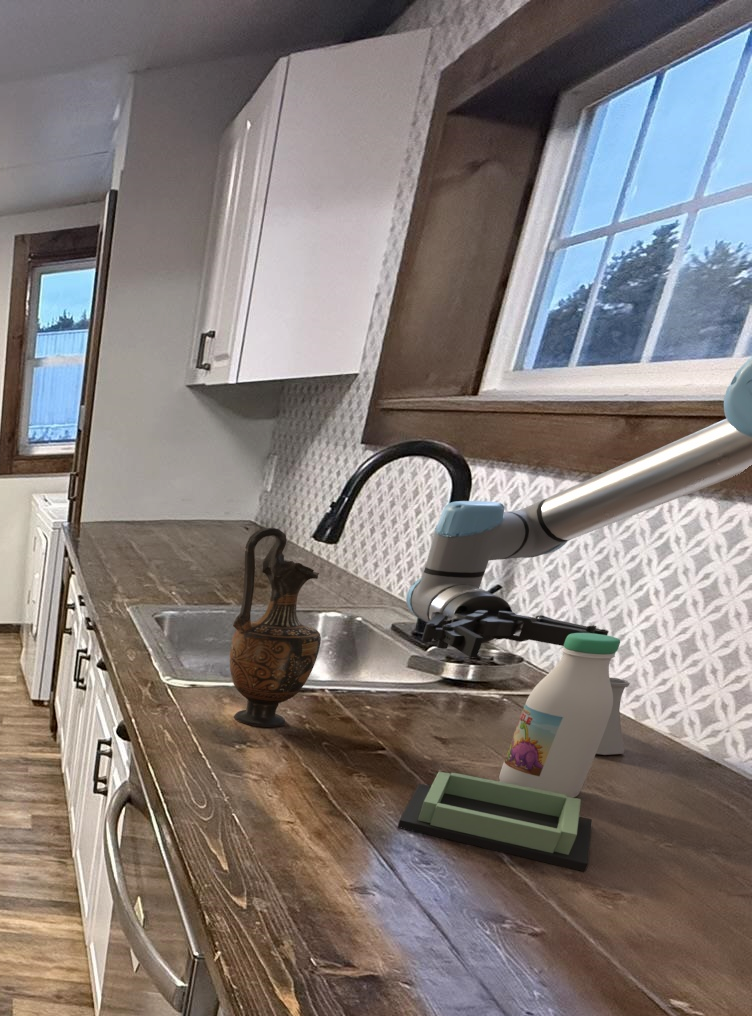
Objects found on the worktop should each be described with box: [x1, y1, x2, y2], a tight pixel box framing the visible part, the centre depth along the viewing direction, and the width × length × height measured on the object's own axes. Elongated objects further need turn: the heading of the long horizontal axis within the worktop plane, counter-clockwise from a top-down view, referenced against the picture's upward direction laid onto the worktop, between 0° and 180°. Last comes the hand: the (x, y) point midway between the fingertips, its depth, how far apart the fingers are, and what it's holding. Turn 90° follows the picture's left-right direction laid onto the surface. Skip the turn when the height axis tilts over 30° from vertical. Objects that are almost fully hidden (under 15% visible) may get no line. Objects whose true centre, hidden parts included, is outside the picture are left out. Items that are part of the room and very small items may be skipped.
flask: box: [595, 676, 631, 756], centre depth 115 cm, size 7×7×10 cm
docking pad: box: [397, 771, 593, 872], centre depth 96 cm, size 16×14×4 cm
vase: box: [229, 527, 322, 728], centre depth 127 cm, size 12×12×30 cm
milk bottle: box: [498, 633, 621, 798], centre depth 102 cm, size 8×8×20 cm
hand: (540, 650), depth 108 cm, fingers open, 13 cm apart
